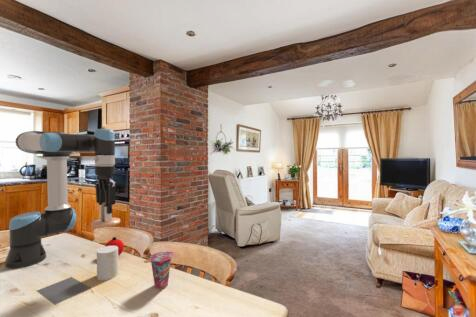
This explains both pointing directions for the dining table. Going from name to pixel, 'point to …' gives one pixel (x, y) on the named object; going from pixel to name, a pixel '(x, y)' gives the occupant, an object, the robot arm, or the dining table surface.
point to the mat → (63, 290)
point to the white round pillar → (107, 262)
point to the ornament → (116, 244)
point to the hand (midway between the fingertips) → (106, 220)
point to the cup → (161, 268)
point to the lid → (102, 223)
